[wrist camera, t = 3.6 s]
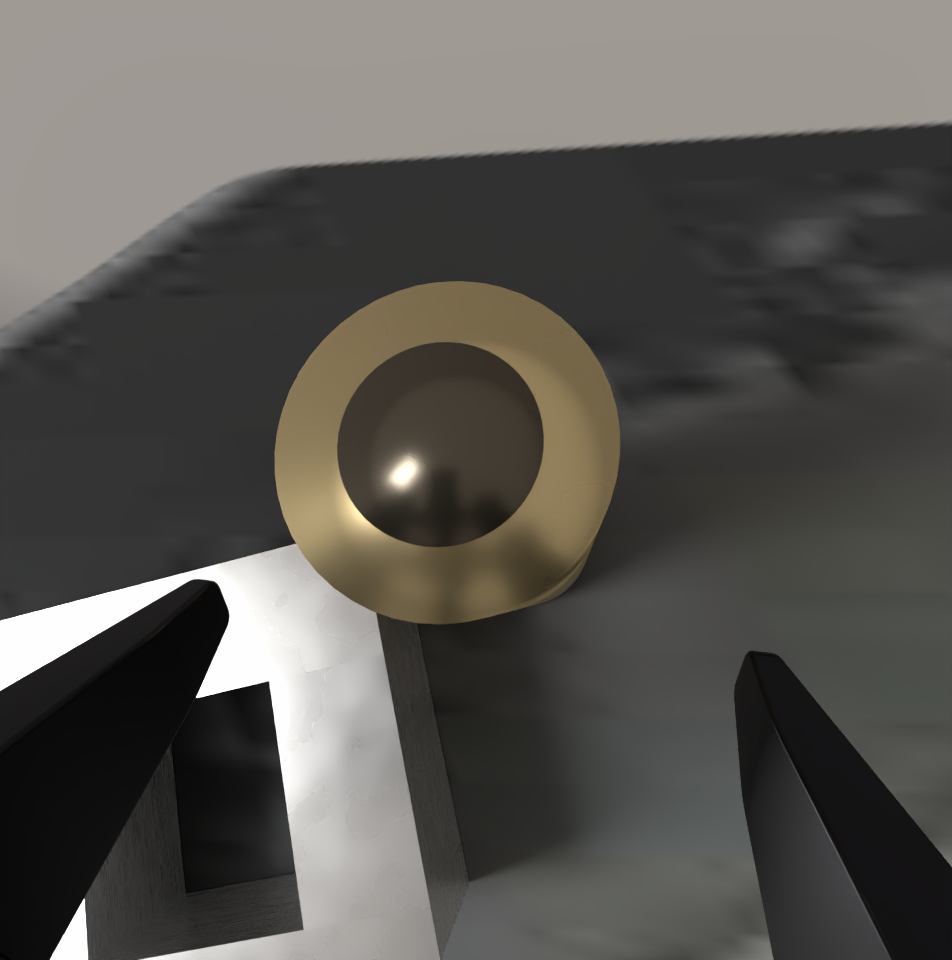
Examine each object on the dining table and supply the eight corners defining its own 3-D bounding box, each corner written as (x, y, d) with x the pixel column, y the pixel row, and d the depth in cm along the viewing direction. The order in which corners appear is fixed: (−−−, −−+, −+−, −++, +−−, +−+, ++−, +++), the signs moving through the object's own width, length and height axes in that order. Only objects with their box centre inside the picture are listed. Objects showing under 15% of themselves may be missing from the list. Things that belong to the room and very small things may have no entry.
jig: (468, 883, 18) (440, 961, 14) (98, 951, 19) (-20, 1039, 16) (400, 539, 20) (360, 527, 17) (76, 622, 22) (-31, 628, 18)
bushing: (614, 560, 19) (699, 493, 6) (502, 630, 19) (370, 697, 7) (543, 453, 20) (495, 215, 8) (438, 520, 20) (218, 397, 8)
